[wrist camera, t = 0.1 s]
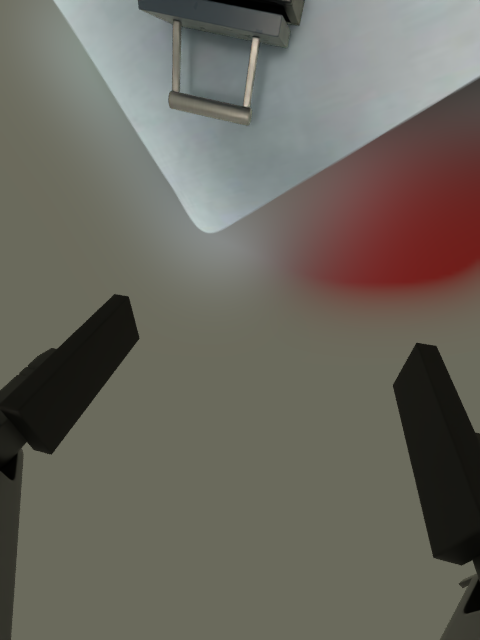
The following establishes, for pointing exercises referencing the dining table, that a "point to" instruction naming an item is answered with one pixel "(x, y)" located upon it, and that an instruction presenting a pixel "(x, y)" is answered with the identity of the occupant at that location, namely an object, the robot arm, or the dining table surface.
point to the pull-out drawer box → (201, 14)
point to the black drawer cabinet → (273, 8)
